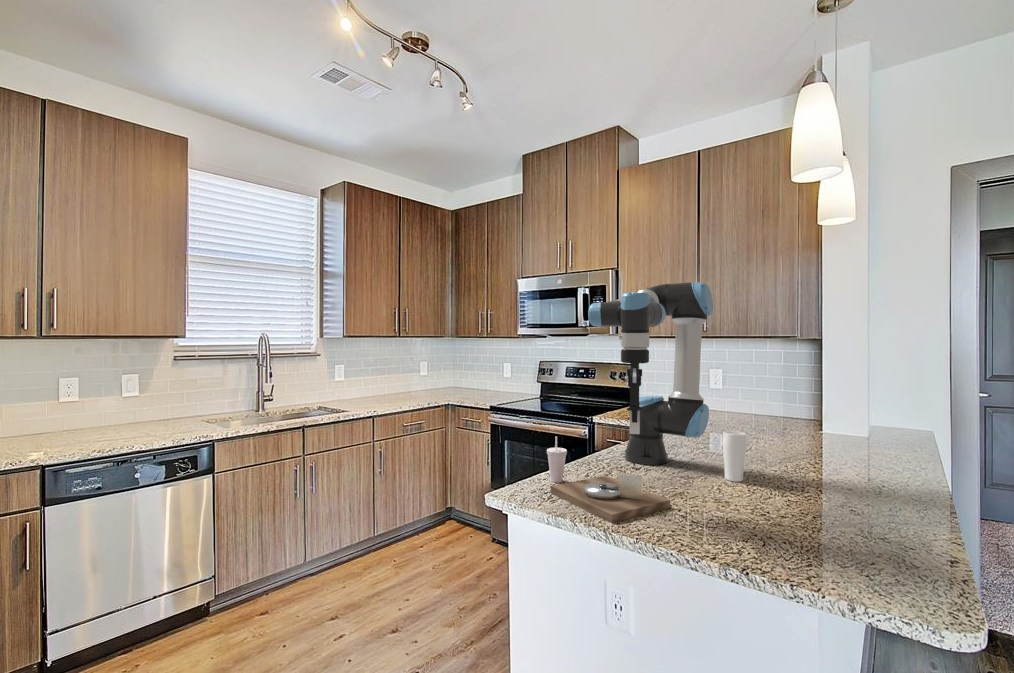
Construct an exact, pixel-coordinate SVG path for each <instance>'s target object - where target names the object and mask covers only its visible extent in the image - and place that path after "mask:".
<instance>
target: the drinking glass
mask: <svg viewBox="0 0 1014 673" xmlns="http://www.w3.org/2000/svg"><path fill="white" fill-rule="evenodd" d="M746 452H747V434H746V433H745V432H742V431H737V430H724V431H722V454H723V466H724V467H723V469H724V479H725V480H726V481H730V482H733V483H734V482H736V483H741V482H742V481H744V471H745V462H746V461H745V459H746Z"/></svg>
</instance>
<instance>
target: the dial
mask: <svg viewBox="0 0 1014 673" xmlns="http://www.w3.org/2000/svg"><path fill="white" fill-rule="evenodd" d="M643 476H644V475H643V474H642V475H639V474H632V473H625V472H624V473H623V472H619V474H618V481H619V486H617V485H615V484H611V483H605V482H593V483H588V484H586V485H585V487H584V493H585V494H586V495H587V496H589V497H592V498H596V499H604V500H610V499H617V498H619V497H624V498H631V499H638V500H642V497H643V490H644V489H643V488H644V487H643V483H644V480H643V479H644V478H643Z"/></svg>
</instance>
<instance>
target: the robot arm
mask: <svg viewBox="0 0 1014 673" xmlns="http://www.w3.org/2000/svg"><path fill="white" fill-rule="evenodd" d="M713 301H714V300H713V295H712V291H711V288H710V287H709V285H708V284H707V283H705V282H694V281H691V282H677V283H664V284H663V283H662V284H657V285H655V286H651V287H647V288H644V289H640V290H639V291H634V292H632V291H630V292H624V293H623V294H622V295H621V298H619V299H615V300H611V301H607V302H602V301H599V302H593V303H591V304H590V305H589V307H588V311H587V312H588V313H587V315H588V321H589V324H590V326H593V327H597V328H598V327H600V328H603V327H604V328H606V327H607V328H608V327H613V328H615V327H620V332H621V333H620V334H621V335H620V336H618V340H621V341H620V345H621V350H620V361H621V363H622V364H630V365H629V366H630V368H628V369H627V372H626V373H627V374H626V375H627V377H628V378H627V379H628V380H627V383H628V386H629V406H628V407H627V408H626V410H627V411H629V432H628V433H629V439H628V443H627V446H626V449H625V450H624V459H625V460H626V461H627V462H631V463H634V464H638V465H639V464H640V465H649V466H651V465H652V466H654V465H664V464H666V463H668V459H669V456H668V453H667V450H666V446H665V443H664V434H665V435H672V436H678V437H679V436H680V437H686V438H697V439H698V438H701V437H702V436H703V435H704V433H705V431H706V430H707V427H708V422H709V416H710V412H709V411H710V409H709V408H710V407H709V406H708V405H707V404H705V403H704V400H705V399H704V397H703V396H701V394H700V380H701V378H700V376H701V372H700V371H701V356H702V350H701V349H702V332H703V331H702V328H703V325H704V324H705V323H706V322H707V321H708V317H709V316H711V315H712V314H713V313H714V312H713V310H714V302H713ZM666 316H670V317H671V322H673V323H674V324H675V339H674V340H675V341H674V362H673V363H674V366H673V367H674V368H673V383H672V384H673V386H672V387H673V388H672V390H673V391H672V392H671V394H669V395H668V397H667V398H668V400H665V398H664V396H662V395H648V396H640V387H641V386H642V376H643V369H642V368H640V364H648V363H649V362H650V350H649V349H648V348H649V347H650V328H655V327H658V326H661V324H662V323H663V322H664V321H665V319H666Z"/></svg>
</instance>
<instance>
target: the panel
mask: <svg viewBox="0 0 1014 673" xmlns="http://www.w3.org/2000/svg"><path fill="white" fill-rule="evenodd" d="M593 482H605V483H611V484H615V485H617V486H619V479H616V478H613V477H610V476H608V475H601V476H596V477H591V478H586V479H579V480H575V481H571V482H566V483H559V484H555V485H550V494H552V495H553V496H556V497H557V498H561V500H565V501H566V502H568V503H569V504H570V503H571V504H572V505H574V506H575V507H578V508H580V509H582V510H584V511H587V512H589V513H591V515H594V516H597V517H599V518H601V519H602V520H605V521H607V522H609V523H611V524H614V523H616V522H620V521H624V520H628V519H632V518H636V517H638V516H643V515H648V514H650V513H655V512H659V511H662V510H666V509H670V508H671V499H668V498H666V497H664V496H661V495H657V494H655V493H653V492H650V491H647V490H645V489H643V497H642V500H638V499H631V498H624V497H619V498H617V499H610V500H604V499H596V498H592V497H589V496H587V495H586V494H585V493H584V487H585V485H586V484H588V483H593Z"/></svg>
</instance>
